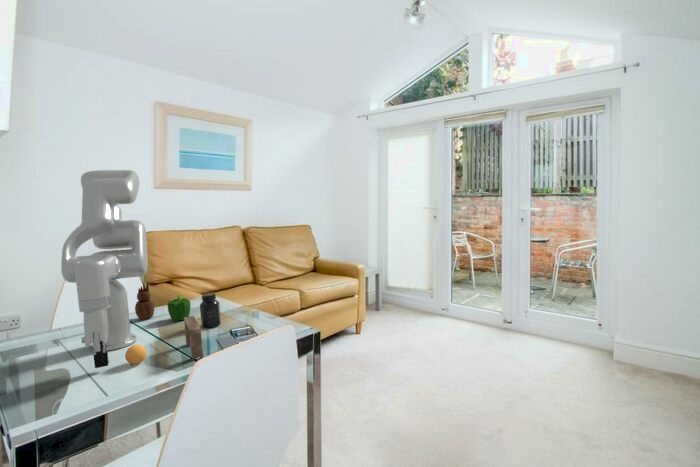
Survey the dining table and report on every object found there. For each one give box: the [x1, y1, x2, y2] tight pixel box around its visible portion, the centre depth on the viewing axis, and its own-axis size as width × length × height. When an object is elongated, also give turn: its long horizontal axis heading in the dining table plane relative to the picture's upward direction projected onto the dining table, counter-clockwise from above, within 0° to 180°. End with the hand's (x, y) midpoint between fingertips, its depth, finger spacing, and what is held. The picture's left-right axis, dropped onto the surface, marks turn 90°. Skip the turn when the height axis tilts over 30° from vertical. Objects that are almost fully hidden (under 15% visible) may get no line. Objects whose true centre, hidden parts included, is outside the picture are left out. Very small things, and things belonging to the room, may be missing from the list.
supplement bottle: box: [199, 292, 221, 329], centre depth 146 cm, size 7×7×12 cm
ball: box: [124, 344, 147, 365], centre depth 115 cm, size 6×6×6 cm
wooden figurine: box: [134, 281, 155, 320], centre depth 157 cm, size 7×6×15 cm
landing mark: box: [216, 335, 256, 350], centre depth 130 cm, size 12×12×1 cm
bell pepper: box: [167, 293, 191, 322], centre depth 154 cm, size 8×8×10 cm
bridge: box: [183, 315, 204, 361], centre depth 122 cm, size 3×14×9 cm, turn 29°
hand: (101, 365), depth 111 cm, fingers closed
